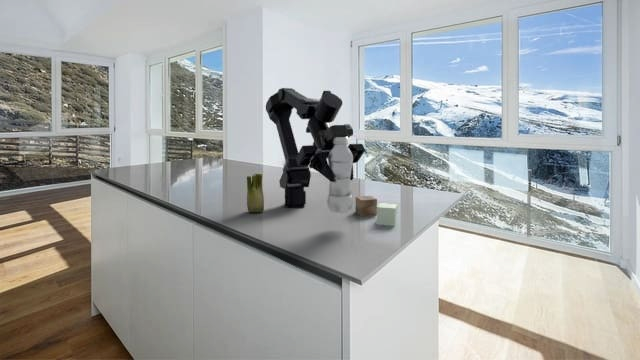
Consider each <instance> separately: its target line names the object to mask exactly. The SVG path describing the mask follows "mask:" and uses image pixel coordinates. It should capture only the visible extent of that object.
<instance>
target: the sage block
mask: <svg viewBox="0 0 640 360" xmlns="http://www.w3.org/2000/svg"><path fill="white" fill-rule="evenodd" d="M397 214H398V203H397V204H396V203H383V202H379V203H378V204H377V215H376V222H375V223H376V225H381V226H390V227H392V226H393V227H395V226H396V224H397V219H398V218H397Z"/></svg>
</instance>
